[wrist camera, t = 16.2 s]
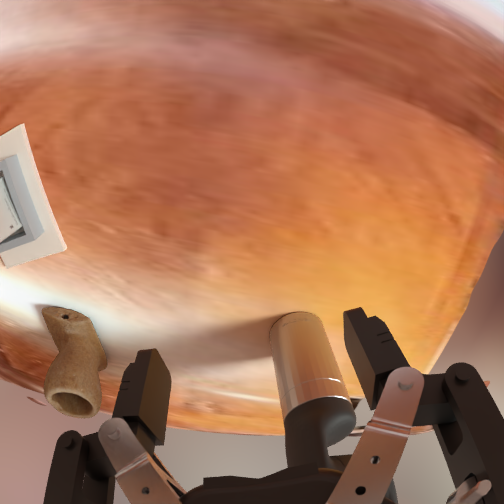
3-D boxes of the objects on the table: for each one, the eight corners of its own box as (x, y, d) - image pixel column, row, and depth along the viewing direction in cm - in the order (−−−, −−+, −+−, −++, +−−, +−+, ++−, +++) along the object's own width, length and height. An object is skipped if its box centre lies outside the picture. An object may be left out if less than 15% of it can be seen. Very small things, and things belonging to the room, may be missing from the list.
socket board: (67, 247, 42) (56, 260, 39) (9, 265, 43) (-2, 277, 39) (23, 123, 33) (8, 127, 30) (-32, 158, 34) (-47, 165, 30)
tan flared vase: (123, 368, 54) (105, 432, 41) (70, 362, 53) (46, 421, 40) (103, 304, 47) (72, 371, 34) (45, 301, 46) (7, 360, 33)
